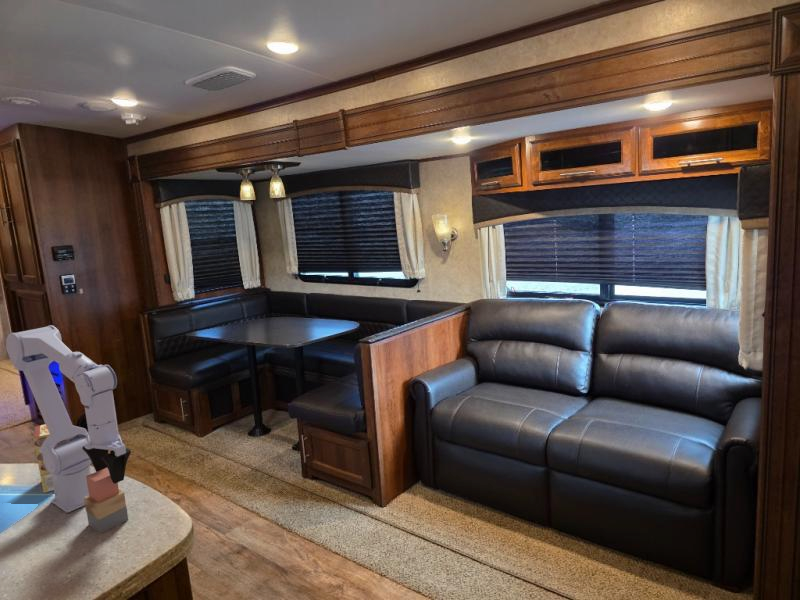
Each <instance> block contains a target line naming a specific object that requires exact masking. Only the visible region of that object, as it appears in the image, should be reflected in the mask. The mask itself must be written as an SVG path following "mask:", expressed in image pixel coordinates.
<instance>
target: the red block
mask: <svg viewBox="0 0 800 600" xmlns="http://www.w3.org/2000/svg"><path fill="white" fill-rule="evenodd" d="M86 479H87V486H88V492H89V497H91V498H92V499H94V500H95V501H97V502H101V501H103V500H105V499H107V498H110V497H112V496H114V495H116V494H118V493H119V490H120V489H119V484H118V483H119V482H118V483H116V484H114V483H113V482H112V480H111V477H110V473H109V470H108V468H105V469H102V470H100V471H97V472H96V471H95V472H91V474H90V475H87V476H86Z"/></svg>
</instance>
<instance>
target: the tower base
mask: <svg viewBox="0 0 800 600" xmlns="http://www.w3.org/2000/svg"><path fill="white" fill-rule="evenodd" d="M86 514H87V515H86V516H87V522H88V523H87V524H88V525H89V526H90V527H91V528H92V529H94V530H96V531H97V532H99V534H103V533H105V532H107V531H109V530H111V529H113V528H115V527H117V526H119V525H121V524H123V523H125V522H127V521H128V520H129V515H128V507H127V506H126V507H124V508H122V509H120V510H118V511H116V512H114V513H112V514H110V515H108V516H106V517H104V518H102V519H97V518H95V517H94V516H92V515H91V514H89V513H88V512H86ZM126 520H127V521H126ZM124 521H125V522H124ZM122 522H123V523H122ZM120 523H121V524H120Z"/></svg>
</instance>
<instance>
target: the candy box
mask: <svg viewBox="0 0 800 600" xmlns="http://www.w3.org/2000/svg"><path fill="white" fill-rule="evenodd" d="M48 436H49V431H48V429H47V426H46V424H45V423H44V424H41V425H40V424H39V425H36V426H34V429H33V438H32V439H33V444H34V449H35V455H36V460H37V464H38V471H39V475H40V479H41V480H40V481H41V485H42V490H43V493H44V494H45V493H49V492H54V488H53V483H52V473H50V472H49V471H48V470H47V469H46V467H45V465H44V462H43V455H42V452H41V446H42V444H43V443H44V441H45V440H46V438H47V437H48ZM55 446H57V445H55ZM55 446H54V447H55Z"/></svg>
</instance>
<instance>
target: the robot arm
mask: <svg viewBox="0 0 800 600" xmlns="http://www.w3.org/2000/svg"><path fill="white" fill-rule="evenodd" d="M62 339H63V338H62V334H61V332H60V330H59V329H58V328H57V327H55V325H52V324H51V325H47V326H44V327H38V328H33V329H29V330H23V331H18V332H11V333H9V334H8V335H7V337H6V341H5V343H6V345H5V349H6V352H7V354H8V357H9V359H10V361H11V363H12V366H13V367H14V369H15V370H17V371H22V373H23V374H24V377H25V379H26V381H27V382H28V383H27V384H28V386H29V388H30V390H31V393H32V396H33V398H34V400H35V402H36V405H37V407H38V409H39V412H40V415H41V417H42V420H43V421H44V424H46V426H47V429H48V431H49V436H48V437H47V438H46V440H45V441H44V443H43V444H42V446H41V452H42V455H43V462H44V465H45V467H46V469H47V470H48V471H49V472H50V473H52V483H53V488H54V490H53V492H54V497H53V498H52V499H51V500H50V502H51V503H52V504H54V505H55V506H57V507H58V508H59V509H60V510H62V511H64V513H66V514H69V513H70V512H73V511H75V510H77V509H80V508H81V507H84V506H85V502H84V497H86V496H88V495H89V492H88V486H87V479H86V476H87V475H90V474H92V471H91V464H92V466H93V468H94V470H95V472H97V471H100V470H102V469H105V468H108V470H109V473H110V477H111V480H112V482H113V483H114V484H116V483H120V482H122V481H124V480H125V474H126V468H127V467H126V466H127V462H128V460H129V457H130V456H131V454H132V451H131V449H130V448H128V447H127V448H126V445H125V444H124V443H123V441H122V437H121V435H120V433H119V427H118V419H117V413H116V412H117V411H116V405H115V400H114V393H113V390H115V389H116V388H117V385H118V378H117V374H116V372H115V371H114V369H113V368H112V367H111V366H110V365H109V364H104V365H103V364H97V363H96V362H95V361H93V360H92V359H91V358H89V357H87V356H86V355H85V354H84V353H82V352H80V351H72V350H71V349H70V348H69V347H68V346H67V345H66V344H65V343H64V342H63V341H62ZM52 362H56V363H58V365H59V366H58V369H59V371H60V373H61V374H63V375H64V376H65V377H66V378H68V379H69V380H70V381H71V382H73V384H74V386H75V389H76V391H77V393H78V396H79V400H80V403H81V405H83V406H84V412H85V413H84V414H85V419H86V424H87V426H86V427H87V429H86V428H84V427H81V426H76V425H73V422H72V421H71V418H70V415H69V413H68V411H67V409H66V406H65V403H64V402H63V399H62V396H61V394H60V392H59V390H58V387H57V385H56V383H55V381H54V378H53V375H52V373H51V371H50V368H49V366H50V364H51V363H52ZM58 444H59V445H58ZM55 445H56V446H55ZM54 446H55V447H54ZM109 451H110V452H109Z"/></svg>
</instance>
